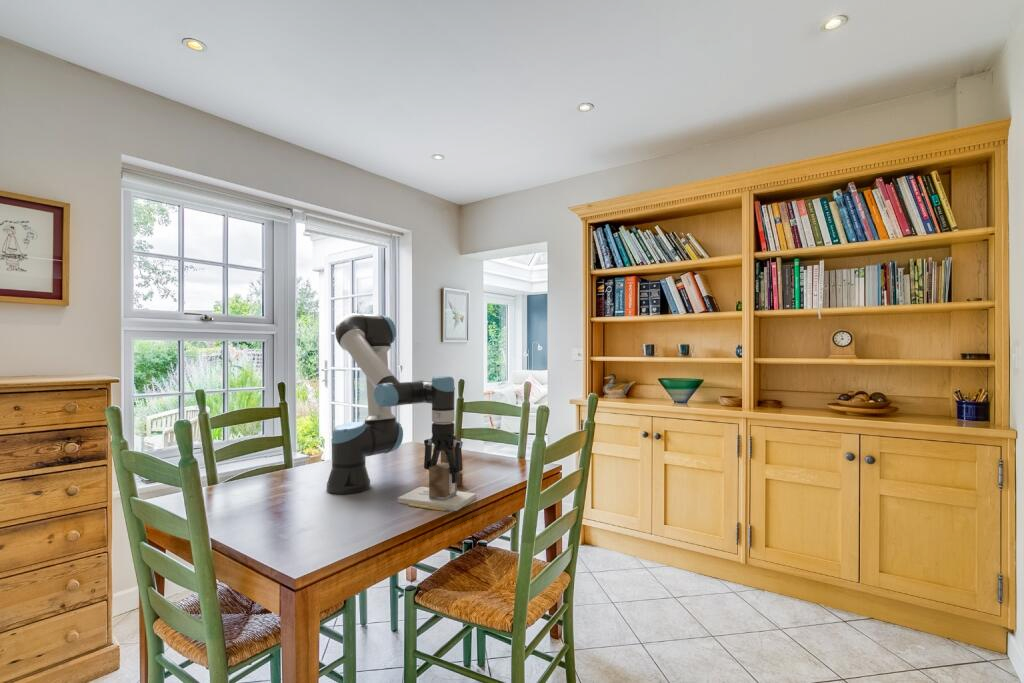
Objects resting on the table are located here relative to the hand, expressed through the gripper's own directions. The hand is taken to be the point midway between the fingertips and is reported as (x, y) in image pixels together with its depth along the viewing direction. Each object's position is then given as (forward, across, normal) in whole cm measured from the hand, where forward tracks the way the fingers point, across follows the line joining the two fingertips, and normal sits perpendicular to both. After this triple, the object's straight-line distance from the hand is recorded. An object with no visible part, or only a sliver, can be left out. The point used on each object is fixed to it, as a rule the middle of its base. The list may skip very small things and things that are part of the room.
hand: (443, 491), depth 164 cm
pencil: (+3, -1, -8) cm, 9 cm away
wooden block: (+3, -7, +19) cm, 21 cm away
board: (+3, -2, 0) cm, 4 cm away
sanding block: (+1, 0, 0) cm, 1 cm away
